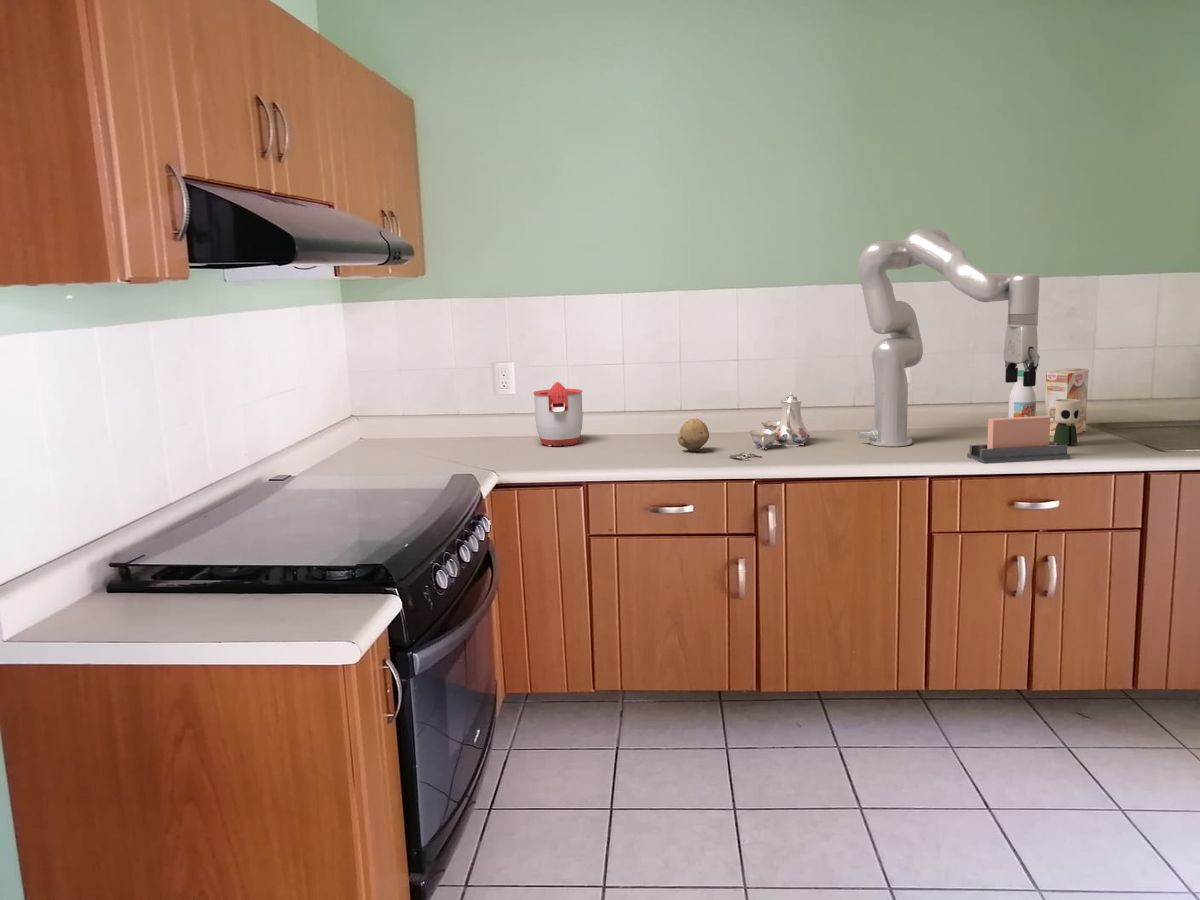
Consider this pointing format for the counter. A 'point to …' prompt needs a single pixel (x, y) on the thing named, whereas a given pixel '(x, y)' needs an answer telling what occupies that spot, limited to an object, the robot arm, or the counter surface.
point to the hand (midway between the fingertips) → (1020, 384)
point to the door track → (1018, 453)
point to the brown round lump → (693, 435)
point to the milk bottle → (1022, 399)
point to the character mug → (1066, 419)
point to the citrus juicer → (558, 415)
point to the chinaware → (783, 426)
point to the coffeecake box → (1066, 392)
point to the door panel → (1018, 432)
